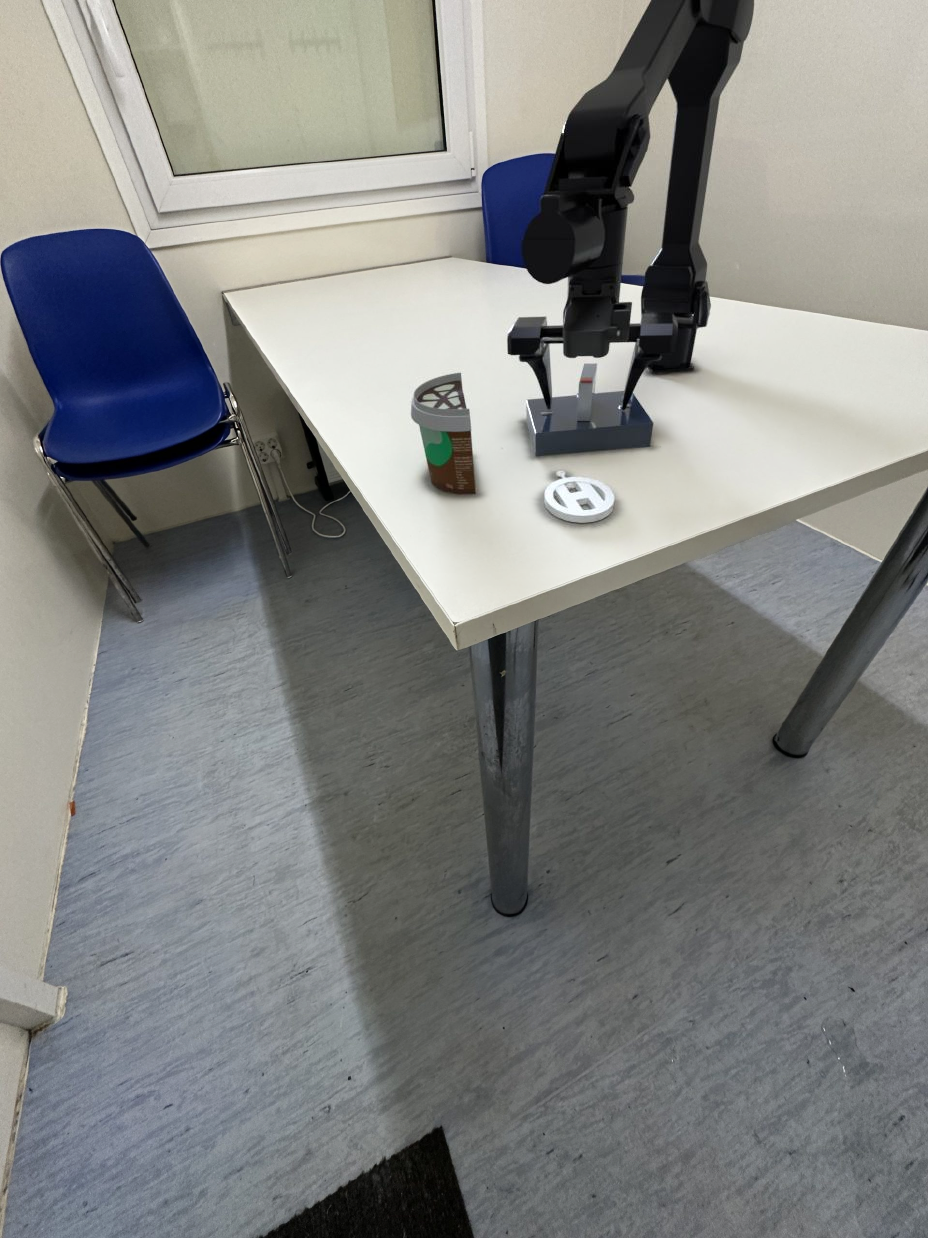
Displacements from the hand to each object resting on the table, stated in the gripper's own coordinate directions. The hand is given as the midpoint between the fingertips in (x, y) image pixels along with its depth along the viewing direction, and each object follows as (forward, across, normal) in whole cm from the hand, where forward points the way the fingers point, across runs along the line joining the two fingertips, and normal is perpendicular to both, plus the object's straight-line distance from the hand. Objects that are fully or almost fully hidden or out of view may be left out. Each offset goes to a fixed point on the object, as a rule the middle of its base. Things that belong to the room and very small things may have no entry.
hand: (585, 408), depth 69 cm
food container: (+3, -15, -13) cm, 20 cm away
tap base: (+3, 0, 0) cm, 3 cm away
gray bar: (0, 0, 0) cm, 0 cm away
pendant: (+3, 0, -16) cm, 17 cm away
